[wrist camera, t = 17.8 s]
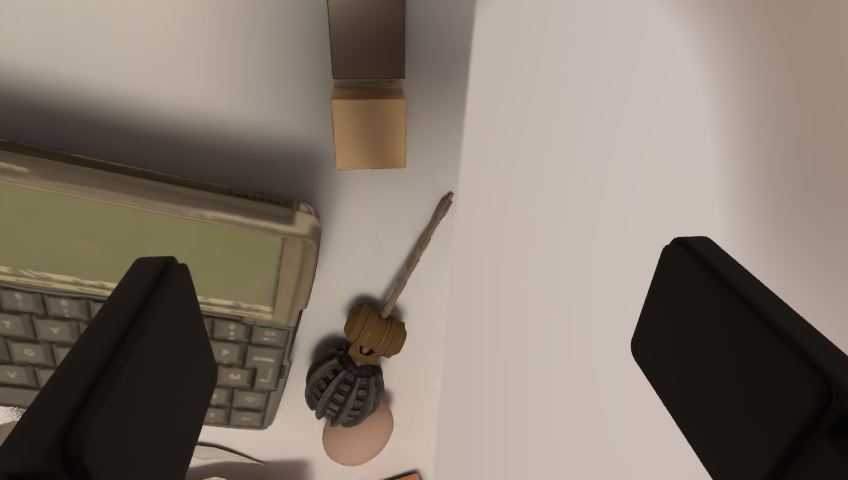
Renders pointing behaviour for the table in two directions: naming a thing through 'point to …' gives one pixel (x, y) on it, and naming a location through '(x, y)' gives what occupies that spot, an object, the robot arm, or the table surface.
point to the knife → (219, 454)
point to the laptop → (145, 237)
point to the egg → (359, 438)
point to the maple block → (369, 125)
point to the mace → (362, 354)
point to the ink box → (410, 477)
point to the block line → (367, 39)
